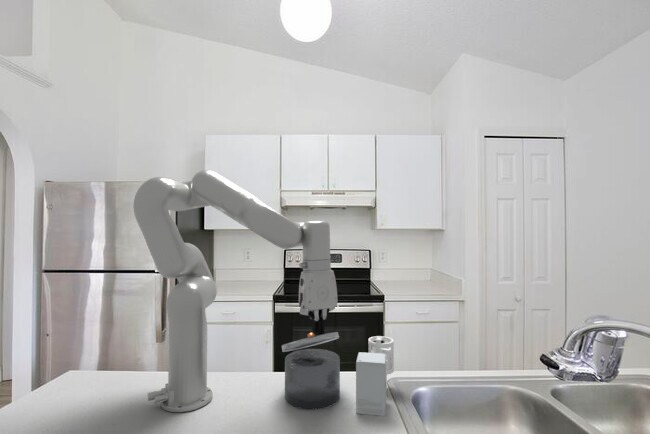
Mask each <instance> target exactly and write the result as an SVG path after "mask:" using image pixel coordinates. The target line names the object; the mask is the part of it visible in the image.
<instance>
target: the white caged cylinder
mask: <svg viewBox="0 0 650 434" xmlns="http://www.w3.org/2000/svg"><path fill="white" fill-rule="evenodd" d="M382 341H384V342H385V343H382ZM394 349H395V348H394V339H393V338H392V337H388V336H382V335H376V336H371V337H369V338H368V353H382V354H386V392H387V391H388V384H387V381H388V379H387V378H388V375H391V374H392V373H393V374H394V372H395V371H394V370H395V367H394V366H395V365H394V364H395V363H394V362H395V361H394V360H395V357H394V355H395V354H394V353H395V352H394Z"/></svg>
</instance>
